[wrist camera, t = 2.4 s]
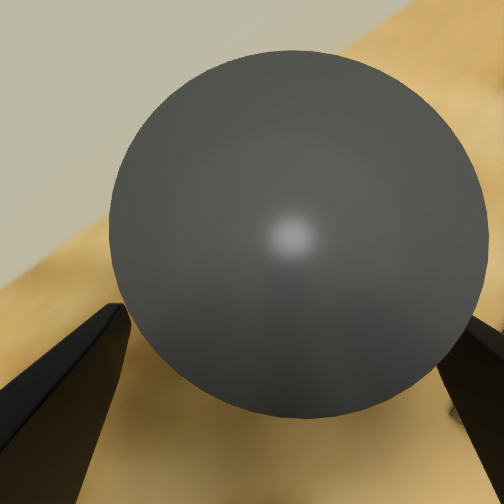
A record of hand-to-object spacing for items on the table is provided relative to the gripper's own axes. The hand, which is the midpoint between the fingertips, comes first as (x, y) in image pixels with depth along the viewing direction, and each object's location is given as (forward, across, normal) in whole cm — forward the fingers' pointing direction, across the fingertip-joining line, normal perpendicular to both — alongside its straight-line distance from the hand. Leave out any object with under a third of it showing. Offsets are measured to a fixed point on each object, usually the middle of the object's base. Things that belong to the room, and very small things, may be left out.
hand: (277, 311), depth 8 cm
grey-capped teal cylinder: (+8, 0, +5) cm, 9 cm away
